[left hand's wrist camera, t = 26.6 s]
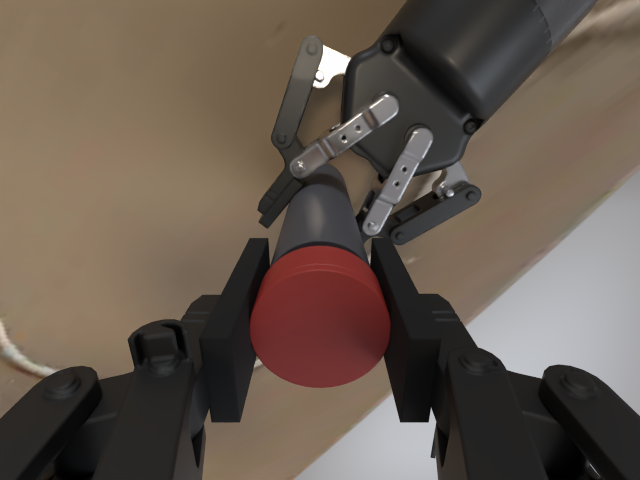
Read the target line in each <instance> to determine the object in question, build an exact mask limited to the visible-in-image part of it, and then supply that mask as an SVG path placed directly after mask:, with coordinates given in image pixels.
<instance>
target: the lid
mask: <svg viewBox="0 0 640 480" xmlns="http://www.w3.org/2000/svg"><path fill="white" fill-rule="evenodd" d="M249 326H250V338H251V343H252V346H253V349H254V351H255V353H256V354H257V356H258V358H259V359H260V360H261V362H262V363H263V364H264V365H265V366H266V367H267V368H268V369H269V370H270V371H271V372H273V373H274V374H276V375H277V376H279V377H280V378H282V379H284V380H286V381H288V382H291V383H294V384H297V385H301V386H306V387H314V388H325V387H334V386H339V385H343V384H347V383H349V382H352V381H354V380H356V379H358V378H360V377H362V376H363V375H365V374H366V373H368V372H369V371H370V370H371V369H372V368H373V367H375V366H376V364H377V363H378V362H379V361H380V360H381V358H382V357H383V355H384V353H385V351H386V349H387V347H388V344H389V340H390V329H391V321H390V315H389V312H388V309H387V306H386V303H385V300H384V297H383V294H382V291H381V288H380V285H379V282H378V279H377V277H376V276H375V274H374V272H373V271H372V270H371V268H370V267H369V266H368V265H367V264H366V263H365V262H364V261H363V260H361V259H360V258H359V257H357V256H356V255H354V254H352V253H350V252H348V251H346V250H343V249H340V248H336V247H330V246H309V247H305V248H301V249H298V250H295V251H292V252H290V253H288V254H286V255H285V256H283V257H282V258H280V259H279V260H278V261H276V262H275V263H274V264H273V265H272V266H271V267H270V269H269V270H268V271H267V273H266V274H265V276H264V278H263V280H262V282H261V285H260V288H259V291H258V294H257V298H256V301H255V304H254V307H253V310H252V313H251V317H250V323H249Z"/></svg>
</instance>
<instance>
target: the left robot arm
mask: <svg viewBox="0 0 640 480" xmlns="http://www.w3.org/2000/svg"><path fill="white" fill-rule="evenodd" d="M370 268H371V270H372V271H373V272H374V274H375V276H376V277H377V279H378V282H379V285H380V288H381V291H382V294H383V297H384V300H385V303H386V306H387V309H388V312H389V315H390V321H391V329H390V340H389V344H388V347H387V349H386V351H385V353H384V359H385V363H386V367H387V371H388V375H389V379H390V383H391V387H392V391H393V395H394V399H395V403H396V407H397V411H398V415H399V419H400V422H429V416H430V410H431V408H432V411H433V413H434V416H435V419H436V428H435V434H434V440H433V446H432V452H431V458H435V456H436V461H437V472H438V480H640V416H639V415H638V414H637V413H636V412H635V411H634V410H633V409H632V408H631V407H630V406H629V405H628V404H626V403H625V402H624V401H623V400H622V399H621V398H620V397H619V396H618V395H617V394H616V393H615V392H614V391H613V390H612V389H611V388H610V387H609V386H608V385H607V384H605V383H604V382H603V381H601V380H600V379H599V378H597V377H596V376H594V375H592V374H590V373H588V372H586V371H584V370H582V369H579V368H575V367H572V366H567V365H553V366H549V367H548V368H547V369H546V370H545V371H544V373H543V377H542V379H541V378H536V377H532V376H527V375H523V374H518V373H515V372H511V371H508V370H506V368H505V366H504V365H503V363H502V362H501V360H500V359H498V358H497V357H496V356H495V355H493V354H492V353H490V352H488V351H486V350H483V349H481V348H478V347H477V345H476V344H475V342H474V341H473V339H472V337H471V336H470V334H469V333H468V331H467V330H466V328H465V327H464V325H463V323H462V322H460V319H459V317H458V316H457V314H456V313H455V311H454V309H453V308H452V306H451V305H450V303H449V302H448V301H447V300H445V299H444V298H442V297H441V296H440V295H438V294H419V293H418V291H417V289H416V287H415V286H414V284H413V282H412V280H411V278H410V276H409V274H408V272H407V270H406V268H405V266H404V264H403V262H402V260H401V258H400V256H399V254H398V252H397V250H396V248H395V246H394V245H393V243H392V241H391V239H390V238H372V247H371V263H370ZM269 269H270V260H269V243H268V238H250V239H249V241H248V243H247V245H246V247H245V249H244V251H243V253H242V255H241V257H240V259H239V261H238V263H237V264H236V266H235V268H234V270H233V272H232V274H231V276H230V278H229V280H228V282H227V284H226V286H225V288H224V290H223V292H222V294H221V295H202V296H201V297H199V298H198V299H197V300H195V301H194V302H193V303H191V305H190V306H189V308H188V310H187V311H186V314H185V315H184V316H183V317H182V319H181V321H178V320H174V319H167V320H159V321H155V322H151V323H149V324H147V325H144V326H142V327H140V328H139V329H137V330H136V331H135V332H133V333H132V335H131V336H130V337H129V338H128V343H129V347H130V351H131V355H132V359H133V363H134V367H135V369H134V371H133V372H130V373H127V374H124V375H119V376H115V377H110V378H106V379H101V380H99V379H98V376H97V372H96V371H95V370H93V369H92V368H91V367H85V366H78V367H70V368H67V369H64V370H60V371H57V372H55V373H53V374H51V375H50V376H48V377H46V378H44V379H43V380H41V381H40V382H39V383H37V384H36V385H35V386H34V387H33V388H32V389H31V390H30V391H28V392H27V393H26V394H25V395H24V396H23V397H22V398H21V399H20V400H19V401H18V402H17V403H16V404H15V405H14V406H13V407H12V408H11V409H10V410H9V411H8V412H7V413H6V414H5V415H4V416H3V417H2V418H1V419H0V480H202V473H203V462H204V451H205V441H206V434H205V428H204V421H205V418H206V416H207V413H208V410H209V408H210V415H211V421H212V422H240V420H241V416H242V412H243V408H244V404H245V400H246V396H247V392H248V388H249V384H250V380H251V376H252V372H253V368H254V364H255V360H256V356H257V354H256V353H255V351H254V349H253V346H252V343H251V338H250V326H249V323H250V317H251V313H252V310H253V307H254V304H255V301H256V298H257V294H258V291H259V288H260V285H261V282H262V280H263V278H264V276H265V274H266V273H267V271H268V270H269ZM590 464H591V465H592V466H593V468H594V469H595V470H596V472H597V473H598V474H599V475H598V474H597V473H596V472H595V471H594V469H593V468H592V467H591V466H590ZM50 465H51V466H50ZM49 467H50V468H49ZM48 468H49V469H48ZM47 469H48V470H47ZM46 471H47V472H46ZM45 472H46V473H45ZM44 473H45V474H44ZM43 474H44V475H43Z"/></svg>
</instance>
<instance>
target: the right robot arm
mask: <svg viewBox="0 0 640 480" xmlns="http://www.w3.org/2000/svg"><path fill="white" fill-rule="evenodd" d="M598 1H599V0H407V2H406V3H405V4H404V6H403V7H402V8H401V10H400V11H399V12H398V13H397V15H396V16H395V17H394V19H393V20H392V21H391V23H390V24H389V25H388V26H387V28H386V29H385V30H384V32H383V33H382V34H381V36H380V37H379V38H378V39H377V41H376V42H375V43H374V44H373V45H372V46H371V47H369V48H368V49H366V50H364V51H361V52H359V53H357V54H356V55H354V56H353V57H352V58H351V57H348V56H346V55H344V54H342V53H339V52H337V51H335V50H332V49H330V48H328V47H326V46H324V45H323V43H322V41H321V40H320V39H319V38H318V37H316V36H308V37H306V38H305V39H304V40H303V41H302V43H301V46H300V49H299V52H298V55H297V58H296V61H295V64H294V67H293V70H292V74H291V77H290V80H289V83H288V86H287V89H286V92H285V95H284V98H283V101H282V104H281V108H280V111H279V114H278V117H277V120H276V123H275V126H274V129H273V132H272V136H271V141H272V143H273V145H274V146H275V147H276V148H277V149H278V150H279V152H280V154H281V155H282V157H283V159H284V161H285V168H284V170H283V171H282V172H281V174H280V175H279V176H278V178H277V179H276V180H275V181H274V183H273V184H272V185H271V187H270V188H269V189H268V190H267V192H266V193H265V194H264V196H263V197H262V199H261V200H260V202H259V206H258V211H259V212H260V213H262V216H261V218H260V220H259V223H260V224H262V225H263V226H264V227H266V228H267V229H268V228H269V227H270V225H271V224H272V223H273V222H274V221H275V219H276V218H277V217H278V216H279V214H280V213H281V212H282V211H283V209H284V208H285V207H286V206H287V205H288V203H289V202H290V201H291V200H292V198H293V197H294V196H295V195H296V193H297V192H298V191H299V190H300V189H301V187H302V186H303V183H304V178H305V177H306V176H307V175H309V174H310V173H312V172H313V171H315V170H316V169H317V168H319V167H320V166H322V165H323V164H324V163H326V162H327V161H329V160H331V159H333V158H335V157H337V156H338V155H339V154H341V153H342V152H344V151H345V150H347V149H348V148H350V149H351V150H352V151H353V152H355V153H356V154H357V155H359V156H361V157H364V158H366V159H368V161H369V162H370V164H371V165H372V166H373V168H374V169H375V170H376V171H377V173H376V175H375V177H374V179H373V181H372V184H371V188H370V191H369V193H368V195H367V197H366V199H365V201H364V203H363V205H362V207H361V209H360V211H359V214H358V215H357V216H356V217H355V218H356V222H357V225H358V228H359V232H360V235H361V238H362V242H363V244H364V243H365V242H366V241H367V240H368V239H369V238H371V237H373V236H380V237H384V238H390V239H391V241H392V242H393V243H394V244H396V245H403V244H405V243H407V242H409V241H410V240H412V239H414V238H416V237H417V236H419V235H421V234H423V233H425V232H426V231H428V230H430V229H432V228H433V227H435V226H437V225H439V224H441V223H442V222H444V221H446V220H448V219H449V218H451V217H453V216H455V215H457V214H458V213H460V212H462V211H464V210H466V209H467V208H469V207H471V206H473V205H474V204H476V203H477V202H478V201H479V200H480V198H481V191H480V189H479V188H478V187H476V186H474V185H473V184H472V183H470V181H469V179H468V177H467V175H466V172H465V170H464V168H463V166H462V164H461V162H460V160H461V158H462V157H463V155H464V152H465V149H466V146H467V143H468V141H469V140H470V138H471V136H472V135H473V134H474V133H475V132H476V131H477V130H478V129H479V128H480V127H481V126H482V125H484V124H485V123H486V122H487V121H488V120H489V118H490V117H491V116H492V115H493V114H494V113H495V112H496V111H497V110H498V109H499V108H500V107H501V106H502V105H503V104H504V103H505V101H506V100H507V99H508V98H509V97H510V96H511V95H512V94H513V93H514V92H515V91H516V90H517V89H518V88H519V87H520V86H521V85H522V83H523V82H524V81H525V80H526V79H527V78H528V77H529V76H530V75H531V74H532V73H533V72H534V71H535V70H536V69H537V68H538V66H539V65H540V64H541V63H542V62H543V61H544V60H545V59H546V58H547V57H548V56H549V55H550V54H551V53H552V52H553V51H554V50H555V48H556V47H557V46H558V45H559V44H560V43H561V42H562V41H563V40H564V39H565V38H566V37H567V36H568V35H569V34H570V33H571V31H572V30H573V29H574V28H575V27H576V26H577V25H578V24H579V23H580V22H581V21H582V20H583V19H584V17H585V16H586V15H587V14H588V13H589V12H590V11H591V9H592V8H593V7H594V6H595V4H596V3H597V2H598ZM337 75H342V76H344V79H343V92H342V105H341V118H340V121H339V122H338V123H337V124H335V125H334V126H333V127H331V128H330V129H328V130H327V131H326V132H324V133H323V134H322V135H320V136H319V137H318V138H317V139H316V140H314V141H313V142H312V143H310V144H309V145H307V146H306V147H305V148H304V147H303V146H302V144H301V142H300V140H299V139H298V137H297V135H296V134H297V131H298V128H299V125H300V122H301V120H302V117H303V114H304V111H305V108H306V105H307V102H308V100H309V97H310V94H311V91H312V88H313V87H315V88H317V89H322V88H324V87H326V86H327V85H328V83H329V81H330V80H331V79H332V78H333V77H334V76H337ZM438 170H442V173H441V175H440V177H439V178H438V179H437V180H436V181H435V182H434V183H433V185H432V191H431V192H430V193H428V194H426V195H424V196H423V197H421V198H419V199H418V200H416V201H414V202H412V203H411V204H409V205H407V206H406V207H404V208H402V209H401V210H399V211H397V212H395V213H394V214H392V215H389V214H390V212H391V210H392V208H393V207H394V206H395V205H397V204H398V202H399V201H400V199H401V197H402V195H403V193H404V191H405V190H406V188H407V186H408V184H409V182H410V180H411V178H412V177H415V176H419V175H423V174H426V173H430V172H434V171H438ZM396 182H397V184H395V183H396Z"/></svg>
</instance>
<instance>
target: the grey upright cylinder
mask: <svg viewBox="0 0 640 480" xmlns="http://www.w3.org/2000/svg"><path fill="white" fill-rule="evenodd" d="M309 246H330V247H336V248H340V249H343V250H346V251H348V252H350V253H352V254H354V255H356V256H357V257H359V258H360V259H361V260H363V261H364V262H365V263H366V264H367V265H368V266H369V267H370V265H369V261H368V258H367V255H366V252H365V248H364V245H363V242H362V238H361V235H360V232H359V228H358V225H357V222H356V218H355V215H354V212H353V209H352V205H351V202H350V199H349V195H348V192H347V189H346V185H345V182H344V179H343V177H342V175H341V174H340V172H339V171H338V170H337V169H336V168H334V167H333V166H331V165H328V164H323V165H322V166H320V167H319V168H317V169H316V170H315V171H313V172H312V173H310V174H309V175H307V176H306V177H305V178H304V183H303V186H302V187H301V189H300V190H299V191H298V192H297V193H296V195H295V196H294V197H293V198H292V200H291V201H290V203H289V206H288V209H287V213H286V216H285V219H284V222H283V226H282V229H281V232H280V236H279V239H278V242H277V246H276V249H275V252H274V256H273V259H272V262H271V266H272V265H273V264H274V263H275V262H276V261H278V260H279V259H280V258H282V257H283V256H285V255H286V254H288V253H290V252H292V251H295V250H298V249H301V248H305V247H309ZM271 266H270V267H271Z"/></svg>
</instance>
